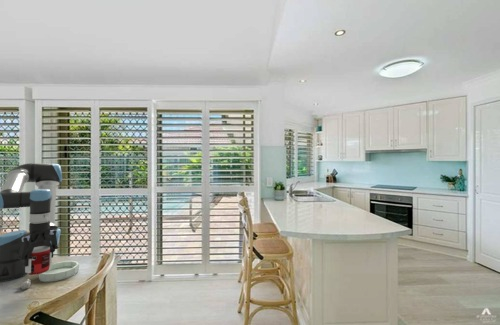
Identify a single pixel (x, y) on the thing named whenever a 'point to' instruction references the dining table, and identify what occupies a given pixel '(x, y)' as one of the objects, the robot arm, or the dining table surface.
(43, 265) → the canned food
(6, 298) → the dining table surface
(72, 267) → the bowl
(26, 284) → the pebble
